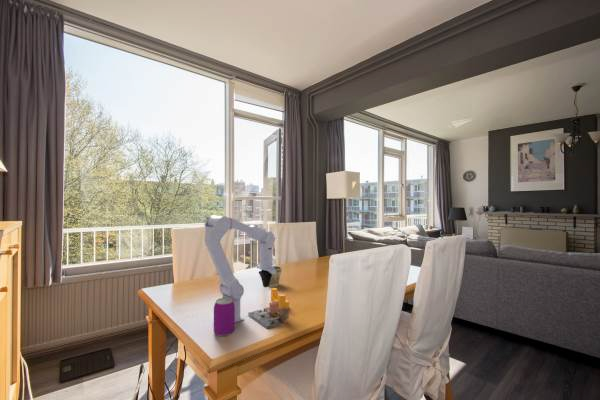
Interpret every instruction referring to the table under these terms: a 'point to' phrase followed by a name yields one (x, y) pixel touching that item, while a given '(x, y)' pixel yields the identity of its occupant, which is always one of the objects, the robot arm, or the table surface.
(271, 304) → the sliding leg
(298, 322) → the table surface
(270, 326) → the strip
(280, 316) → the trammel bar
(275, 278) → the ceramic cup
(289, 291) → the table surface
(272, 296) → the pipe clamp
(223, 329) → the beverage can
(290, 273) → the table surface
